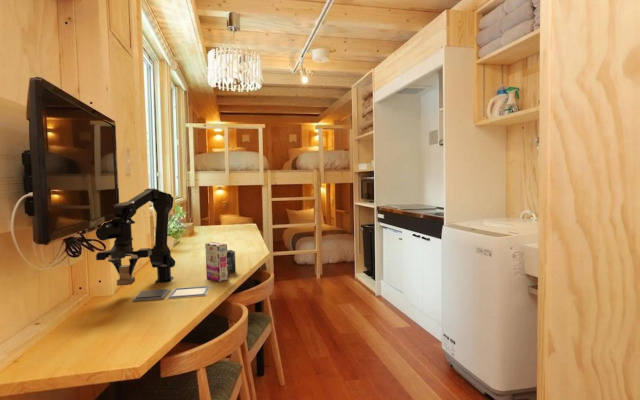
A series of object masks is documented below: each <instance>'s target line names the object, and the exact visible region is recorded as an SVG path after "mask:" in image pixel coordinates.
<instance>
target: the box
mask: <svg viewBox="0 0 640 400" xmlns="http://www.w3.org/2000/svg"><path fill="white" fill-rule="evenodd" d="M227 259H228V260H227V261H228V275H229V274H235V273H236V270H237V269H236V251H234V250H233V249H227Z"/></svg>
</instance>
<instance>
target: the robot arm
mask: <svg viewBox="0 0 640 400" xmlns="http://www.w3.org/2000/svg"><path fill="white" fill-rule="evenodd" d="M149 202H150V203H152V207H153V209H154V211H155V213H156V215H155V216H156V219H155V241H154V246H153V247H152V248H150V247H146V248H145V247H144V248H142V247H141V248H139V249H138V250H134V247H133V240H134V239H133V238H134V237H133V234H132V225H133V224H136V222H135V220H133V219H132V218H133V217H134V216H135V215H136V214H137V210H138V209H140V208H141V207H143V206H144V205H146V204H147V203H149ZM114 205H115V206H114ZM114 205H113V206H114V215H115V217H116V219H113V220H112V221H109V222H107V223H104V224H103V225H102V226H101V228H99V229H97V228H96V230H95V236H96V238H97V239H98V240H100V241H108V240H112V239H113V240H114V242H113V246H112V247H111V248H110V249H108V250H102V251H103V252H101V251H98V252H97V253H96V255H95V260H96V261H105V260H107V258H108V260H107V262H109V263H111V264H113V266H114V268H115V269H116V271H117V274H118V275H119V267H120V266H122V265H123V264H122V259H124V258H126V257H130V258H129V259H128V262H129V265H130V276H131V275H132V276H133V272H134V269H135V267H136V264H137V262H138V261H139V259H143V258H148V259H149V262H150V264H151V266H152V267H151V268H156V270H157V271H156V273H157V276H156V279H155V283H162V282H163V283H164V282H171V281H172V280H173V279H174V276H172V271H171V270H172V269H171V268H174V267H176V260H175V258H173V256H172V255H171V249H170V248H169V246H168V235H169V234H168V229H169V213H170V211H171V210H172V209H173V205H174V197H173V196H172V194H171V193H168V192H165V191H161V190H159V189H156V188H146V189H144V190H143V191H142V192H141V193H139V194H137V195H136V196H134V197H132V198H131V199H129V200H127V201H123V202H119V203H117V204H114Z"/></svg>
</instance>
